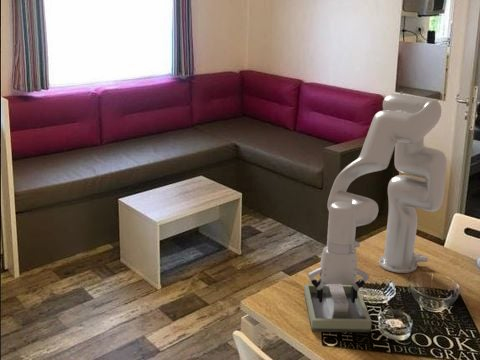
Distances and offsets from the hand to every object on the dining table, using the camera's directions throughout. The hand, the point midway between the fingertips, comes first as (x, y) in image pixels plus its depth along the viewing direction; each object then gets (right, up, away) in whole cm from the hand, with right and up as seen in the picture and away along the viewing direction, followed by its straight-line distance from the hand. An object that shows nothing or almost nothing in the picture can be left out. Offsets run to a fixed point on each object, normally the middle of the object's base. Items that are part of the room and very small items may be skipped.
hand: (336, 300), depth 164 cm
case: (0, -4, +1) cm, 4 cm away
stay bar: (0, -3, +1) cm, 3 cm away
